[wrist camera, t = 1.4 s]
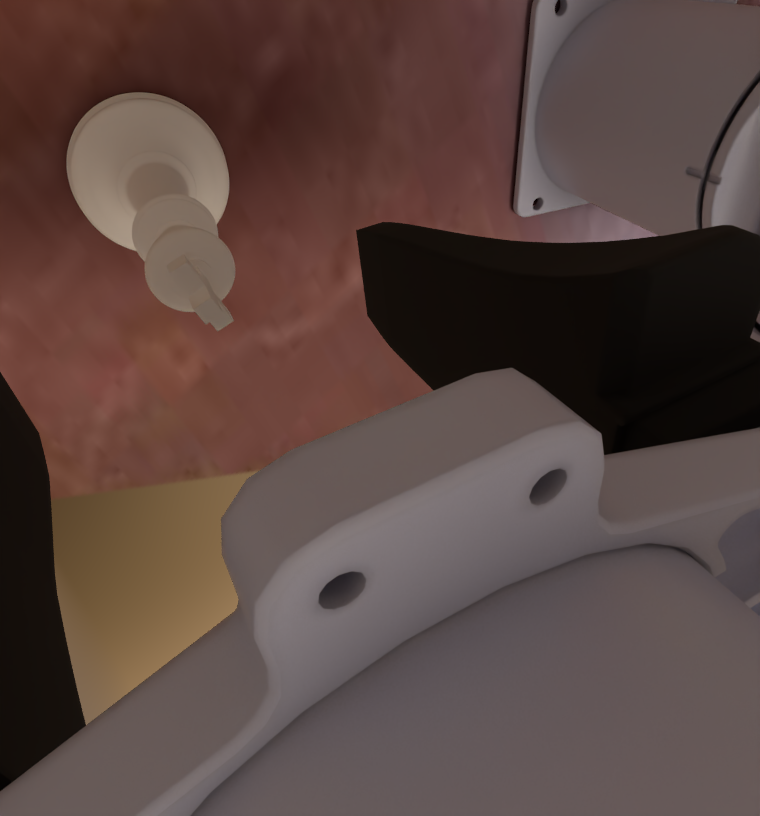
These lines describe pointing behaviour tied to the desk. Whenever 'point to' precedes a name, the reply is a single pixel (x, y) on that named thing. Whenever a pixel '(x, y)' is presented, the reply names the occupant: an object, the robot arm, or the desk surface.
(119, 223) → the chess piece
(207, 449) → the desk surface
